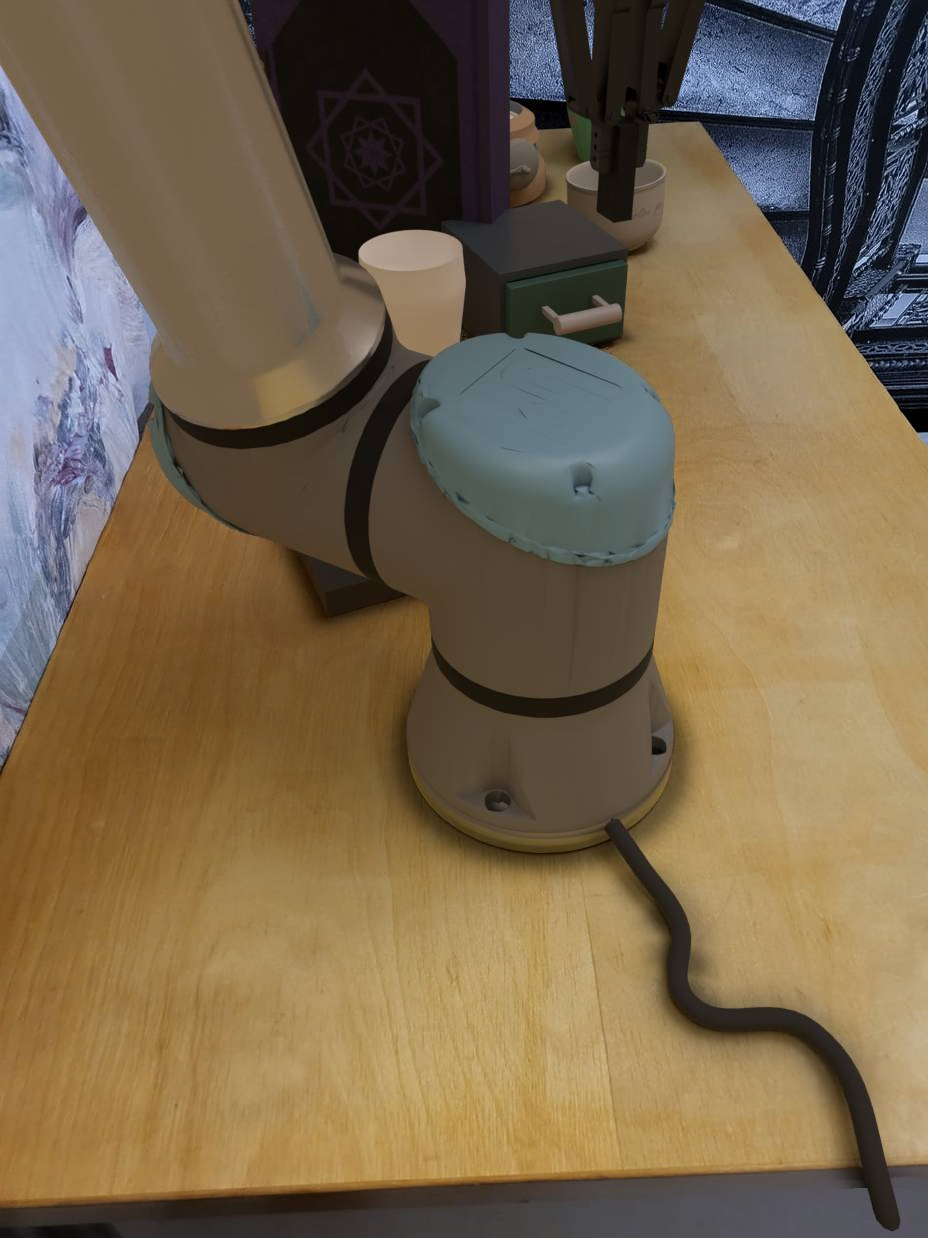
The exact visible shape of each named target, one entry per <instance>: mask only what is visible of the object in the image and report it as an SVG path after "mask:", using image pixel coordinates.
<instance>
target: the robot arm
mask: <svg viewBox="0 0 928 1238" xmlns="http://www.w3.org/2000/svg"><path fill="white" fill-rule="evenodd" d="M548 1H549V8H550V14H551V19H552V25H553V31H554V37H555V43H556V51H557V56H558V62H559V68H560V74H561V80H562V86H563V87H562V88H563V93H564V97H565V98H564V99H565V104H566V109H567V108H568V109H569V110H570V111H572V112H574V113H576V114H578V115H580V116H582V117H583V118H585V119H588V120H589V119H590V121H591V125H592V128H591V148H590V164H591V168H592V169H593V170H595V171H597V172H598V173H599V176H598V192H597V209H596V212H598V213H599V214H601V215H602V216H604V217H605V218H607V219H608V220H610V221H611V222H613V223H617V222H623V221H629V220H632V210H633V198H634V186H635V174H636V168H640V167H643V165H644V163H645V160H646V159H647V154H648V153H647V152H648V151H647V150H648V143H649V141H648V140H649V130H650V125H653V124H655V123H656V122H657V121H658V120H659V119H660V115H661V114H660V113H659V111H661V110H663V109H665V108H667V109H669V108H673V107H674V106H675V105H676V104H677V101H678V98H679V95H680V92H681V88H682V85H683V81H684V78H685V75H686V71H687V68H688V64H689V60H690V57H691V54H692V50H693V48H694V47H693V46H694V43H695V40H696V36H697V32H698V30H699V26H700V24H701V23H700V22H701V20H702V15H703V12H704V9H705V5H706V2H707V0H591V3H592V5H593V10H594V11H593V28H592V47H590V39H589V32H588V26H587V19H586V12H585V5H584V0H548ZM241 6H242V5H241V4H240V2H239V0H0V67H1V69H2V71H3V73H4V74H5V76H6V77H7V79H8V82H9V83H10V84H11V86H12V88H13V90H14V91H15V93H16V94H17V97H18V98H19V100H20V101H21V103H22V105H23V106H24V108H25V109H26V111H27V113H28V115H29V116H30V118H31V120H32V121H33V123H34V125H35V126H36V129H37V130H38V131H39V133H40V135H41V137H42V138H43V140H44V142H45V143H46V145H47V147H48V149H49V151H50V152H51V154H52V155H53V157H54V159H55V160H56V162H57V163H58V165H59V167H60V168H61V170H62V172H63V174H64V176H65V177H66V179H67V181H68V182H69V184H70V186H71V187H72V189H73V191H74V192H75V194H76V196H77V198H78V199H79V201H80V203H81V204H82V206H83V208H84V209H85V211H86V213H87V214H88V216H89V218H90V219H91V221H92V222H93V224H94V226H95V228H96V230H97V231H98V233H99V234H100V236H101V238H102V240H103V241H104V242H105V245H106V246H107V248H108V250H109V252H110V253H111V255H112V256H113V259H114V260H115V261H116V264H117V265H118V267H119V268H120V270H121V272H122V273H123V275H124V276H125V278H126V280H127V282H128V283H129V285H130V287H131V288H132V290H133V292H134V294H135V295H136V297H137V299H138V300H139V302H140V303H141V305H142V307H143V309H144V310H145V312H146V314H147V316H148V318H149V319H150V320H151V323H152V324H153V326H154V328H155V329H156V334H155V336H154V339H153V341H152V345H151V347H150V351H149V356H148V371H149V376H150V381H149V385H148V394H147V395H148V396H147V397H148V398H147V401H148V403H150V404H152V405H153V406H154V407H155V409H154V410H155V411H154V416H153V417H151V418H150V419H149V420H148V421H147V427H148V434H149V439H150V444H151V447H152V450H153V453H154V455H155V458H156V461H157V462H158V465H159V467H160V469H161V471H162V472H163V474H164V476H165V477H166V479H167V480H168V482H169V483H170V485H171V486H172V487H173V489H175V490H176V491H177V492H178V494H179V495H181V497H183V499H185V500H186V501H187V502H188V503H189V504H191V505H192V506H194V507H195V508H197V509H198V510H200V511H202V512H203V513H206V514H207V515H208V516H210V517H211V518H212V519H214V520H215V521H217V522H218V523H220V524H221V525H224V526H225V527H227V528H229V529H232V530H234V531H237V532H239V533H241V534H244V535H248V536H253V537H258V538H261V539H265V540H267V541H269V542H272V543H274V544H278V545H280V546H282V547H286V548H288V549H290V550H293V551H295V552H297V553H298V552H301V553H303V554H306V555H309V556H311V557H314V558H316V559H319V560H322V561H324V562H327V563H329V564H332V565H335V566H337V567H340V568H342V569H345V570H348V571H350V572H353V573H355V574H358V575H361V576H363V577H366V578H369V579H370V580H372V581H375V582H377V583H380V584H382V585H385V586H387V587H390V588H392V589H395V590H397V591H400V592H403V593H405V594H407V596H411V597H412V598H415V599H418V600H420V601H421V602H423V603H424V604H425V605H426V606H427V607H428V609H427V610H428V618H429V627H430V628H429V630H430V639H431V642H430V643H431V647H430V651H429V653H428V656H427V658H426V661H425V664H424V667H423V669H422V672H421V674H420V678H419V681H418V684H417V687H416V690H415V692H414V694H413V697H412V700H411V702H410V706H409V709H408V713H407V717H406V726H405V739H406V746H407V756H408V763H409V767H410V773H411V775H412V778H413V780H414V783H415V785H416V787H417V789H418V790H419V792H420V794H421V796H422V797H423V798H424V800H425V801H426V803H427V804H428V805H429V806H430V807H431V809H432V810H433V811H434V812H435V813H436V814H437V815H439V816H440V817H441V819H443V820H444V821H445V822H447V823H448V824H450V825H451V826H452V827H454V828H455V829H457V830H458V831H460V832H461V833H463V834H465V835H467V836H469V837H471V838H473V839H476V840H477V841H480V842H483V843H485V844H488V845H491V846H494V847H498V848H502V849H504V850H505V849H507V850H511V851H517V852H524V853H535V854H536V853H542V854H546V853H547V854H550V853H551V854H552V853H563V852H570V851H571V852H572V851H576V850H580V849H585V848H589V847H591V846H592V847H593V846H595V845H598V844H602V843H604V842H606V841H608V840H611V842H612V844H613V845H614V846H615V848H616V849H617V851H618V852H619V854H620V855H621V856H622V858H623V860H624V861H625V862H626V864H627V865H628V867H629V868H630V870H631V872H632V873H633V874H634V876H635V877H636V878H637V881H639V883H640V884H641V885H642V886H643V888H644V889H645V891H647V893H648V894H649V895H650V896H651V898H652V899H653V901H654V902H655V903H656V905H657V906H658V907H659V909H660V911H661V912H662V914H663V916H664V918H665V919H666V922H667V925H668V927H669V931H670V938H671V944H670V951H669V958H668V965H667V974H666V980H667V987H668V991H669V994H670V996H671V998H672V1000H673V1002H674V1004H675V1005H676V1006H677V1007H678V1009H679V1010H680V1011H681V1012H682V1013H683V1014H684V1015H685V1016H686V1017H688V1018H689V1019H690V1020H691V1021H693V1022H695V1023H697V1024H698V1025H701V1026H703V1027H704V1028H705V1027H706V1028H709V1029H713V1030H715V1031H724V1032H746V1031H765V1030H772V1031H784V1032H787V1033H792V1034H794V1035H796V1036H797V1037H800V1038H801V1039H802V1040H803V1041H806V1042H807V1043H808V1044H809V1045H810V1046H811V1047H812V1048H813V1049H814V1050H816V1052H817V1053H818V1054H819V1055H820V1056H821V1057H822V1058H823V1060H824V1061H825V1062H826V1063H827V1065H828V1066H829V1068H830V1069H831V1070H832V1072H833V1074H834V1076H835V1077H836V1079H837V1081H838V1084H839V1086H840V1088H841V1091H842V1093H843V1096H844V1099H845V1102H846V1104H847V1108H848V1111H849V1115H850V1119H851V1124H852V1128H853V1132H854V1135H855V1141H856V1146H857V1151H858V1155H859V1160H860V1164H861V1169H862V1173H863V1177H864V1181H865V1185H866V1189H867V1192H868V1195H869V1200H870V1204H871V1208H872V1209H871V1210H872V1212H873V1214H874V1217H875V1220H876V1221H877V1223H879V1225H880V1226H881V1227H882V1228H883V1229H884V1230H887V1231H890V1232H894V1231H895V1232H896V1231H897V1230H899V1228H900V1226H901V1217H900V1211H899V1208H898V1203H897V1199H896V1196H895V1195H896V1194H895V1191H894V1188H893V1184H892V1180H891V1175H890V1173H889V1169H888V1164H887V1161H886V1156H885V1152H884V1147H883V1141H882V1137H881V1134H880V1130H879V1126H878V1121H877V1118H876V1114H875V1110H874V1107H873V1104H872V1103H873V1102H872V1100H871V1097H870V1094H869V1092H868V1089H867V1086H866V1084H865V1082H864V1079H863V1077H862V1075H861V1073H860V1071H859V1069H858V1067H857V1066H856V1063H854V1060H853V1059H852V1057H851V1056H850V1055H849V1053H848V1052H847V1050H846V1049H845V1048H844V1046H843V1045H842V1044H841V1043H840V1042H839V1041H838V1040H837V1039H836V1038H835V1036H833V1035H832V1034H831V1033H830V1032H829V1031H828V1030H827V1029H826V1028H824V1026H822V1025H821V1024H820V1023H818V1022H817V1020H814V1019H812V1018H811V1017H809V1016H808V1015H806V1014H805V1013H801V1012H799V1011H797V1010H794V1009H789V1008H785V1007H777V1006H753V1007H736V1008H735V1007H730V1008H729V1007H718V1006H714V1005H710V1004H708V1003H706V1002H705V1001H703V1000H702V999H701V998H699V997H698V996H697V995H696V994H695V992H694V991H693V990H692V988H691V987H690V983H689V978H688V975H689V974H688V972H689V965H690V957H691V951H692V950H691V949H692V931H691V926H690V923H689V920H688V919H689V918H688V916H687V914H686V912H685V910H684V908H683V905H681V902H680V901H679V899H678V898H677V896H676V895H675V894H674V892H673V890H671V887H669V885H668V884H667V883H666V881H664V879H662V877H661V876H660V874H659V873H658V872H657V871H656V869H655V868H654V867H653V865H652V864H651V863H650V861H649V859H648V858H647V857H646V855H645V853H643V851H642V849H641V848H640V847H639V845H638V844H637V843H636V841H635V840H634V838H633V837H632V836H631V834H630V832H629V831H628V829H630V828H631V827H633V826H635V825H636V824H637V823H638V822H640V820H642V819H643V818H644V817H645V816H646V815H647V814H648V813H649V812H650V811H651V810H652V808H653V807H654V806H655V805H656V803H657V802H658V801H659V799H660V798H661V796H662V795H663V792H664V791H665V788H666V786H667V784H668V781H669V777H670V774H671V769H672V764H673V758H674V757H673V756H674V753H675V752H674V751H675V743H676V730H675V723H674V721H675V720H674V717H673V714H672V709H671V706H670V702H669V700H668V696H667V694H666V691H665V687H664V684H663V681H662V677H661V675H660V671H659V668H658V664H657V663H656V659H655V656H654V652H653V651H654V646H655V645H654V644H655V636H656V629H657V628H656V627H657V621H658V614H659V608H660V607H659V605H660V599H661V591H662V585H663V577H664V570H665V562H666V554H667V547H668V540H669V534H670V533H669V532H670V529H671V528H672V524H673V522H674V512H675V509H676V505H677V503H676V500H675V499H676V494H677V490H676V483H675V479H674V478H675V458H676V433H675V429H674V425H673V424H674V423H673V420H672V418H671V415H670V413H669V412H668V410H667V409H666V407H665V406H664V405H663V404H662V401H661V398H660V395H659V394H658V393H657V391H656V390H655V388H654V387H653V386H652V384H650V383H649V382H648V380H647V379H646V378H645V377H644V376H642V374H640V373H639V372H638V371H636V370H635V369H634V368H633V367H632V366H630V365H628V364H627V363H626V362H624V361H622V360H621V359H619V358H618V357H616V356H614V355H612V354H610V353H608V352H606V351H604V350H601V349H600V348H597V347H596V346H595V347H594V346H593V345H590V346H589V345H587V344H584V343H580V342H577V341H573V340H570V339H567V338H562V337H558V336H552V335H545V334H537V333H526V334H525V335H524V337H523V338H521V339H516V338H511V337H510V336H508V335H507V334H505V333H496V334H489V335H482V336H477V337H474V338H473V337H471V338H467V339H464V340H461V341H460V342H458V343H456V344H454V345H451V346H449V347H447V348H446V349H444V350H442V351H441V352H439V353H438V354H437V355H436V356H435V357H433V356H430V355H426V354H422V353H419V352H415V351H412V350H408V349H407V348H406V347H404V346H403V345H402V344H401V343H400V342H399V341H398V339H397V336H396V333H395V330H394V327H393V324H392V321H391V318H390V316H389V313H388V310H387V307H386V305H385V302H384V299H383V296H382V293H381V290H380V288H379V286H378V284H377V282H376V280H375V279H374V277H373V276H372V275H371V274H370V273H369V272H368V271H367V270H366V269H365V268H364V267H363V266H361V265H360V264H359V263H357V262H355V261H353V260H352V259H350V258H347V257H345V256H342V255H339V254H336V253H332V250H331V248H330V245H329V242H328V240H327V237H326V234H325V232H324V229H323V226H322V223H321V221H320V218H319V215H318V213H317V210H316V207H315V205H314V202H313V199H312V197H311V194H310V191H309V189H308V186H307V183H306V181H305V178H304V175H303V173H302V170H301V167H300V165H299V162H298V159H297V157H296V154H295V151H294V148H293V146H292V143H291V140H290V138H289V135H288V132H287V130H286V127H285V124H284V122H283V119H282V116H281V114H280V111H279V108H278V106H277V103H276V100H275V98H274V95H273V92H272V90H271V87H270V84H269V81H268V79H267V76H266V73H265V71H264V68H263V65H262V63H261V60H260V57H259V55H258V52H257V49H256V43H255V41H254V39H253V36H252V34H251V31H250V28H249V25H248V22H247V20H246V18H245V14H244V12H243V10H242V7H241ZM666 6H667V7H666ZM665 7H666V12H665V15H664V9H665ZM663 16H664V19H663ZM622 95H623V96H622ZM621 109H623V111H624V112H625V117H624V116H622V115H621Z"/></svg>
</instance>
